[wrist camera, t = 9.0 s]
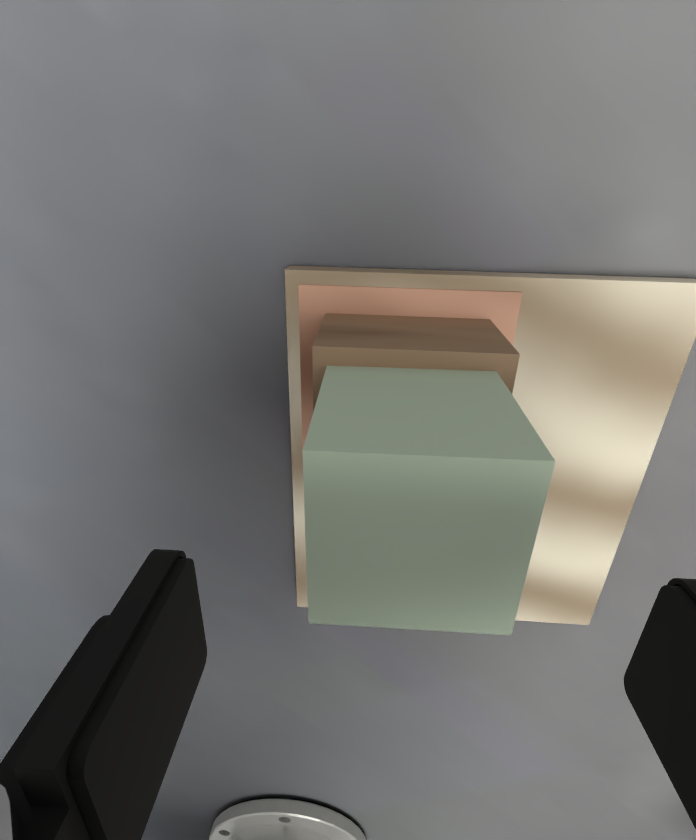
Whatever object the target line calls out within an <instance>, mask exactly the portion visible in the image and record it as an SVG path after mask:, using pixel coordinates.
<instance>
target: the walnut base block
mask: <svg viewBox="0 0 696 840" xmlns="http://www.w3.org/2000/svg"><path fill="white" fill-rule="evenodd" d="M519 357H520V354H519V353H518V351H517V350H516V349H515V348H514V347H513V346H512V344H511V343H510V342H509V341H508V340H507V339H506V337H505V336H504V335H503V334H502V333H501V332H500V330H499V329H498V328H497V327H496V326H495V325H494V323H493V322H492V321H491V320H490V319H470V318H443V317H415V316H388V315H361V314H334V313H326V314H325V317H324V319H323V322H322V324H321V327H320V329H319V331H318V334H317V336H316V339H315V341H314V343H313V346H312V358H313V412H314V408H315V405H316V401H317V398H318V395H319V391H320V388H321V384H322V381H323V377H324V374H325V370H326V367H327V366H355V367H385V368H414V369H444V370H474V371H497V372H498V374H499V376H500V377H501V379H502V380H503V382H504V383H505V385H506V386H507V388H508V389H509V391H510V392H511V394H512V392H513V387H514V382H515V377H516V372H517V367H518V362H519Z"/></svg>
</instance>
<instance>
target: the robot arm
mask: <svg viewBox="0 0 696 840" xmlns="http://www.w3.org/2000/svg"><path fill="white" fill-rule="evenodd" d="M206 657H207V646H206V640H205V633H204V627H203V620H202V613H201V607H200V600H199V594H198V587H197V580H196V574H195V567H194V562H193V560H192V559H189V558H186V556H185V553H184V552H183V551H178V550H160V549H155V550H153V551H152V552H151V553H150V554H149V556H148V557H147V559H146V560H145V562H144V563H143V565H142V566H141V568H140V569H139V571H138V573H137V574H136V576H135V577H134V579H133V580H132V582H131V583H130V585H129V586H128V588H127V590H126V591H125V593H124V594H123V596H122V597H121V599H120V600H119V602H118V604H117V605H116V607H115V608H114V610H113V611H112V613H111V614H110V615H106V616H103V617H101V618H100V619H98V620H97V622H96V623H95V624H94V625H93V626H92V628H91V629H90V631H89V632H88V634H87V635H86V637H85V638H84V640H83V641H82V643H81V644H80V646H79V647H78V649H77V650H76V652H75V653H74V655H73V656H72V658H71V659H70V661H69V662H68V663H67V665H66V666H65V668H64V669H63V671H62V672H61V674H60V675H59V677H58V678H57V680H56V681H55V683H54V684H53V686H52V687H51V689H50V690H49V692H48V693H47V695H46V696H45V698H44V699H43V701H42V702H41V704H40V705H39V707H38V708H37V710H36V711H35V713H34V714H33V716H32V717H31V719H30V720H29V722H28V723H27V725H26V726H25V728H24V729H23V731H22V732H21V734H20V735H19V737H18V738H17V740H16V741H15V743H14V744H13V746H12V747H11V749H10V750H9V752H8V753H7V754H6V756H5V757H4V759H3V760H2V762H1V763H0V840H141V838H142V835H143V832H144V830H145V827H146V824H147V822H148V819H149V816H150V813H151V811H152V808H153V805H154V803H155V800H156V797H157V794H158V792H159V789H160V786H161V784H162V781H163V778H164V775H165V773H166V770H167V767H168V765H169V762H170V759H171V756H172V754H173V751H174V748H175V746H176V743H177V740H178V737H179V735H180V732H181V729H182V727H183V724H184V721H185V718H186V716H187V713H188V710H189V708H190V705H191V702H192V699H193V697H194V694H195V691H196V689H197V686H198V683H199V680H200V678H201V675H202V672H203V670H204V666H205V663H206ZM624 687H625V691H626V694H627V696H628V698H629V700H630V702H631V704H632V706H633V708H634V710H635V712H636V714H637V716H638V718H639V720H640V722H641V724H642V725H643V727H644V729H645V731H646V733H647V735H648V737H649V739H650V741H651V743H652V745H653V747H654V749H655V751H656V753H657V755H658V757H659V759H660V760H661V762H662V764H663V766H664V768H665V770H666V772H667V774H668V776H669V778H670V780H671V782H672V784H673V786H674V788H675V790H676V792H677V794H678V795H679V797H680V799H681V801H682V803H683V805H684V807H685V809H686V811H687V813H688V815H689V817H690V819H691V821H692V823H693V825H694V827H695V828H696V579H680V578H674V579H672V580H670V581H669V583H668V584H667V585H664V586H663V587H661V589H660V591H659V593H658V596H657V598H656V600H655V603H654V605H653V608H652V610H651V612H650V615H649V617H648V620H647V622H646V625H645V627H644V629H643V632H642V634H641V637H640V639H639V641H638V644H637V646H636V649H635V651H634V653H633V656H632V658H631V661H630V663H629V666H628V668H627V670H626V673H625V676H624ZM209 840H366V838H365V836H364V834H363V833H362V831H361V830H360V828H359V827H358V826H357V825H356V824H354V823H353V822H352V821H351V820H350V819H348V818H347V817H345V816H343V815H342V814H340V813H338V812H336V811H333V810H331V809H329V808H326V807H323V806H320V805H317V804H314V803H309V802H304V801H299V800H291V799H259V800H251V801H247V802H243V803H239V804H237V805H234V806H232V807H229V808H228V809H226V810H225V811H223V812H222V813H221V814H220V815H219V816H218V817H217V818H216V819H215V820H214V823H213V826H212V829H211V833H210V837H209Z"/></svg>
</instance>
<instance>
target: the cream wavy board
mask: <svg viewBox="0 0 696 840" xmlns="http://www.w3.org/2000/svg"><path fill="white" fill-rule="evenodd" d="M285 295H286V322H287V348H288V375H289V402H290V428H291V455H292V481H293V508H294V535H295V561H296V588H297V607H308V599H307V570H306V541H305V512H304V483H303V454H302V450H303V447H304V443H305V440H306V436H307V433H308V429H309V426H310V422H311V419H312V415H313V358H312V346H313V343H314V341H315V339H316V336H317V334H318V331H319V329H320V327H321V324H322V322H323V319H324V317H325V314H326V313H334V314H361V315H388V316H415V317H443V318H470V319H490V320H491V321H492V322H493V323H494V325H495V326H496V327H497V328H498V329H499V330H500V332H501V333H502V334H503V335H504V336H505V337H506V339H507V340H508V341H509V342H510V343H511V344H512V346H513V347H514V348H515V349H516V350H517V351H518V353H519V354H520V357H519V362H518V367H517V372H516V377H515V382H514V387H513V392H512V395H513V397H514V398H515V400H516V402H517V403H518V405H519V406H520V408H521V409H522V411H523V412H524V414H525V415H526V417H527V418H528V420H529V421H530V423H531V425H532V426H533V428H534V429H535V431H536V432H537V434H538V435H539V437H540V438H541V440H542V441H543V443H544V444H545V446H546V448H547V449H548V451H549V452H550V454H551V455H552V457H553V458H554V460H555V465H554V469H553V473H552V477H551V481H550V485H549V488H548V492H547V496H546V500H545V504H544V508H543V512H542V516H541V520H540V524H539V528H538V532H537V536H536V540H535V544H534V548H533V551H532V555H531V559H530V563H529V567H528V571H527V575H526V579H525V583H524V587H523V591H522V595H521V599H520V603H519V607H518V611H517V615H516V618H515V620H519V621H535V622H550V623H566V624H582V625H589V623H590V620H591V618H592V615H593V612H594V609H595V607H596V604H597V601H598V599H599V596H600V593H601V591H602V588H603V585H604V582H605V580H606V577H607V574H608V572H609V569H610V566H611V564H612V561H613V558H614V556H615V553H616V550H617V547H618V545H619V542H620V539H621V537H622V534H623V531H624V529H625V526H626V523H627V521H628V518H629V515H630V512H631V510H632V507H633V504H634V502H635V499H636V496H637V494H638V491H639V488H640V486H641V483H642V480H643V477H644V475H645V472H646V469H647V467H648V464H649V461H650V459H651V456H652V453H653V450H654V448H655V445H656V442H657V440H658V437H659V434H660V432H661V429H662V426H663V424H664V421H665V418H666V415H667V413H668V410H669V407H670V405H671V402H672V399H673V397H674V394H675V391H676V389H677V386H678V383H679V380H680V378H681V375H682V372H683V370H684V367H685V364H686V362H687V359H688V356H689V353H690V351H691V348H692V345H693V343H694V340H695V337H696V279H691V278H661V277H630V276H599V275H569V274H538V273H507V272H477V271H446V270H415V269H384V268H354V267H323V266H292V265H289V266H288V267H287V268H286V269H285Z"/></svg>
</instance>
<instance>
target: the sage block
mask: <svg viewBox="0 0 696 840" xmlns="http://www.w3.org/2000/svg"><path fill="white" fill-rule="evenodd" d="M302 454H303V483H304V512H305V541H306V570H307V599H308V623H311V624H328V625H345V626H362V627H379V628H396V629H413V630H430V631H447V632H464V633H481V634H498V635H511V634H512V630H513V626H514V622H515V618H516V615H517V611H518V607H519V603H520V599H521V595H522V591H523V587H524V583H525V579H526V575H527V571H528V567H529V563H530V559H531V555H532V551H533V548H534V544H535V540H536V536H537V532H538V528H539V524H540V520H541V516H542V512H543V508H544V504H545V500H546V496H547V492H548V488H549V485H550V481H551V477H552V473H553V469H554V465H555V460H554V458H553V457H552V455H551V454H550V452H549V451H548V449H547V448H546V446H545V444H544V443H543V441H542V440H541V438H540V437H539V435H538V434H537V432H536V431H535V429H534V428H533V426H532V425H531V423H530V421H529V420H528V418H527V417H526V415H525V414H524V412H523V411H522V409H521V408H520V406H519V405H518V403H517V402H516V400H515V398H514V397H513V395H512V394H511V392H510V391H509V389H508V388H507V386H506V385H505V383H504V382H503V380H502V379H501V377H500V376H499V374H498V372H497V371H474V370H444V369H414V368H385V367H355V366H327V367H326V370H325V374H324V377H323V381H322V384H321V388H320V391H319V395H318V398H317V401H316V405H315V408H314V412H313V415H312V419H311V422H310V426H309V429H308V433H307V436H306V440H305V443H304V447H303V450H302Z"/></svg>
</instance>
